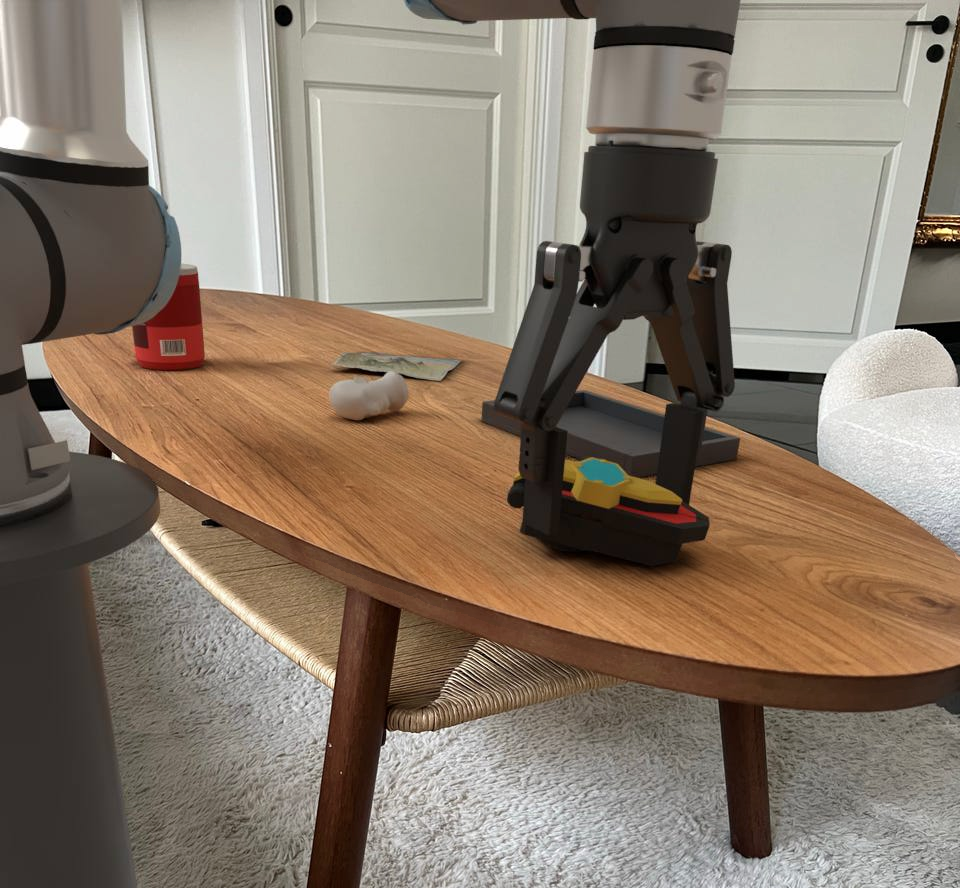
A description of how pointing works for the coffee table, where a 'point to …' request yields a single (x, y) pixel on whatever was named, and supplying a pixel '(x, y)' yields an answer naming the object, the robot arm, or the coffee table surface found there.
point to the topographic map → (399, 364)
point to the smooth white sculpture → (368, 396)
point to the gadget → (617, 515)
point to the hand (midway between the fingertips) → (608, 513)
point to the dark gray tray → (618, 433)
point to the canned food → (174, 329)
